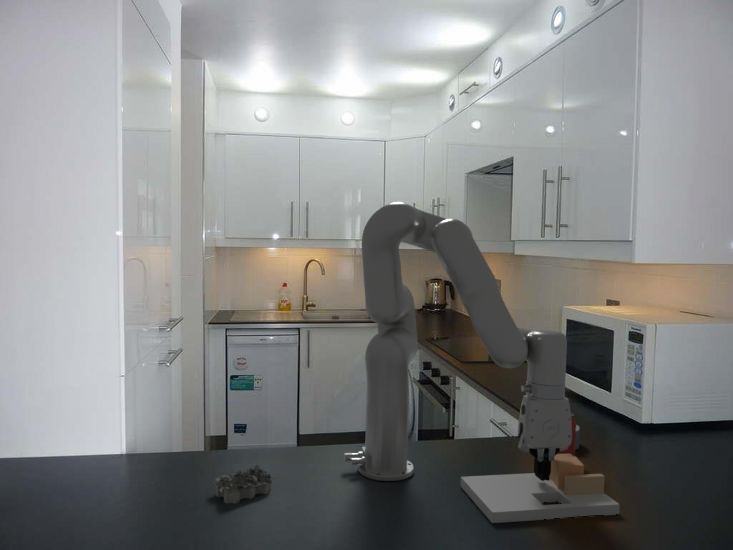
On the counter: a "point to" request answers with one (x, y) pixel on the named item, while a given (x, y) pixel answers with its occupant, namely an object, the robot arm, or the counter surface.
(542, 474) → the robot arm
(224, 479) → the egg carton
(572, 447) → the beer can
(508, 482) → the white flat board
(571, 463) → the block
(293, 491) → the counter surface
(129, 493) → the counter surface
